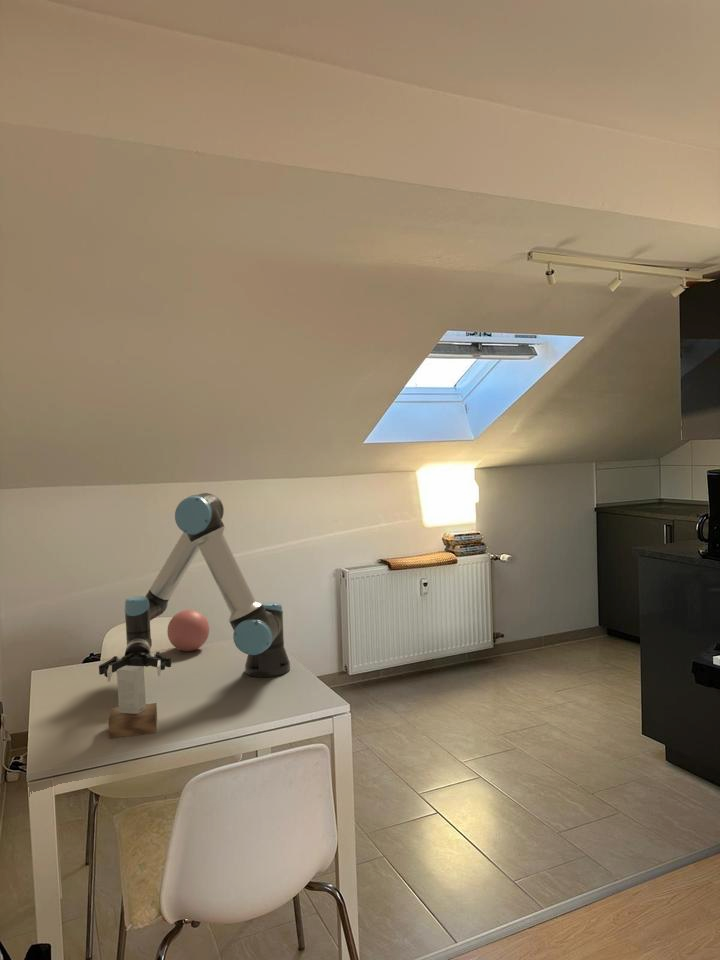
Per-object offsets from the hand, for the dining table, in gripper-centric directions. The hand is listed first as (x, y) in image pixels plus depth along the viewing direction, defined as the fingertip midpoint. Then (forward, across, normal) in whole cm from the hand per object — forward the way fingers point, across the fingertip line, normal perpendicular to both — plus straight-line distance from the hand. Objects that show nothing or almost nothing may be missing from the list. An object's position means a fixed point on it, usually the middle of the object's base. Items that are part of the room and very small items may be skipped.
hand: (134, 674), depth 205 cm
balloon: (-69, -17, -13) cm, 72 cm away
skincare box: (+8, 0, -8) cm, 11 cm away
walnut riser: (+8, 0, -13) cm, 15 cm away
